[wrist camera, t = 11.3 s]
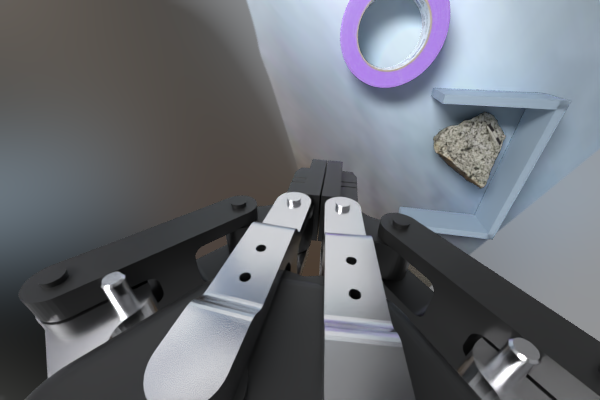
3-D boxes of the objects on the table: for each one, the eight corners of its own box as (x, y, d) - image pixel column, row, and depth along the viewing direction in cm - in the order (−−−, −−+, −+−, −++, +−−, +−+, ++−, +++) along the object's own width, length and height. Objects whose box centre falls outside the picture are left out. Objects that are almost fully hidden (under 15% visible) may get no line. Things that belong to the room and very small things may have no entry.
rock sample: (550, 135, 31) (511, 181, 29) (501, 163, 38) (468, 201, 36) (478, 85, 33) (438, 125, 31) (446, 120, 40) (411, 154, 38)
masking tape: (429, -55, 27) (440, -68, 23) (447, 59, 32) (458, 61, 28) (327, 5, 31) (324, 1, 28) (357, 98, 36) (358, 103, 33)
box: (433, 88, 33) (445, 94, 29) (542, 93, 32) (571, 100, 27) (398, 211, 44) (403, 228, 40) (478, 220, 42) (492, 239, 38)
